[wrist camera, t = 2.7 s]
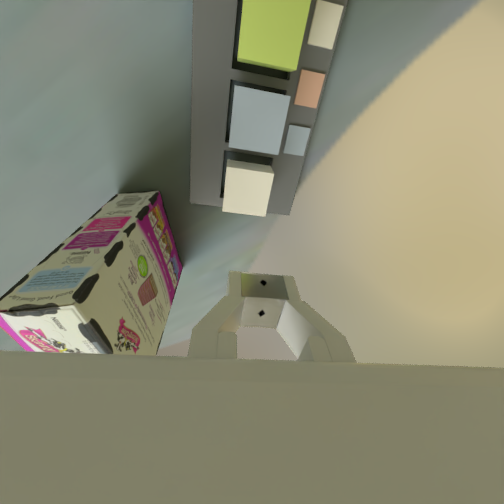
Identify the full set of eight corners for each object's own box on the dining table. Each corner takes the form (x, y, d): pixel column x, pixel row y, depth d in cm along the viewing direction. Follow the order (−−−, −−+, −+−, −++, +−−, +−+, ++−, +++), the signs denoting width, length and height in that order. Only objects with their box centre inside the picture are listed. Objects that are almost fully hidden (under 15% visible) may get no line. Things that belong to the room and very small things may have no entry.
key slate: (234, 85, 19) (234, 85, 16) (282, 95, 20) (290, 96, 17) (229, 139, 21) (228, 147, 18) (272, 146, 22) (278, 155, 19)
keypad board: (199, -194, 13) (195, -224, 12) (377, -130, 15) (390, -150, 13) (191, 198, 26) (189, 204, 25) (287, 210, 28) (289, 216, 26)
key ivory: (227, 156, 22) (226, 166, 19) (269, 163, 23) (274, 173, 20) (223, 197, 24) (222, 211, 21) (261, 202, 25) (265, 216, 22)
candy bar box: (113, 192, 25) (-27, 311, 12) (160, 188, 25) (74, 302, 12) (146, 272, 32) (81, 409, 18) (184, 269, 32) (146, 403, 18)
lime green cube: (244, -12, 16) (246, -35, 13) (300, 2, 17) (314, -16, 14) (237, 62, 18) (237, 57, 15) (286, 73, 19) (296, 70, 16)
